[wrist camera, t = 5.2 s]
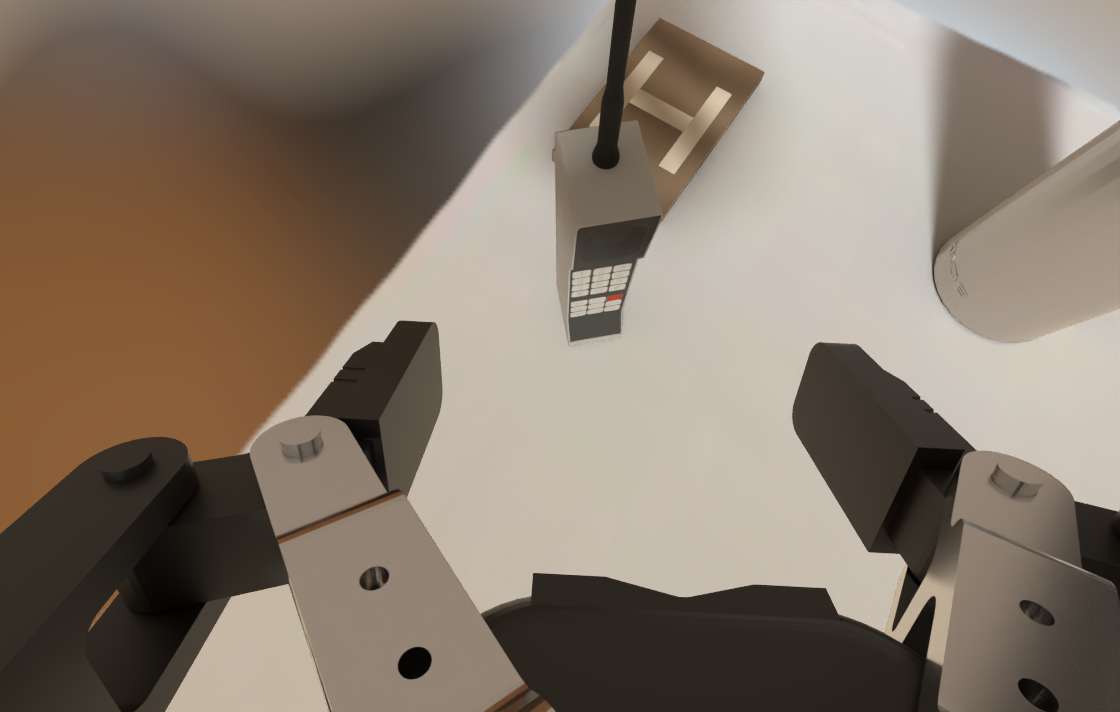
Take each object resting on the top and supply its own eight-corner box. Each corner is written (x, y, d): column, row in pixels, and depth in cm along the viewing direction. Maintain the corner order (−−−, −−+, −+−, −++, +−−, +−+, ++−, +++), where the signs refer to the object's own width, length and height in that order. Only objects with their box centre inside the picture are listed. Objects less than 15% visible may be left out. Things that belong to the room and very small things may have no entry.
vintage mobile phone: (568, 348, 37) (585, 60, 13) (556, 285, 39) (551, -79, 15) (620, 339, 38) (726, 40, 14) (606, 277, 39) (680, -96, 15)
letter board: (657, 30, 46) (659, 17, 44) (759, 83, 44) (764, 71, 43) (552, 160, 42) (552, 150, 41) (659, 223, 40) (662, 214, 39)
